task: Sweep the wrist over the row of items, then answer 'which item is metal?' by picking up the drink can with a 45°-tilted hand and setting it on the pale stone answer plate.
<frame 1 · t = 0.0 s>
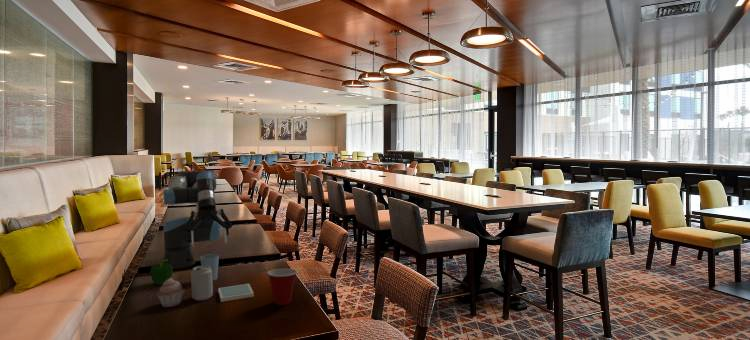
hand: (209, 244, 181), 15 cm above the table, tool tilted 35°, fingers open, 13 cm apart
cupcake: (171, 304, 153), on the table
can: (202, 298, 159), on the table
answer plate: (235, 294, 162), on the table
cup: (210, 279, 180), on the table
plastic cup: (283, 302, 153), on the table
bell pepper: (162, 284, 176), on the table
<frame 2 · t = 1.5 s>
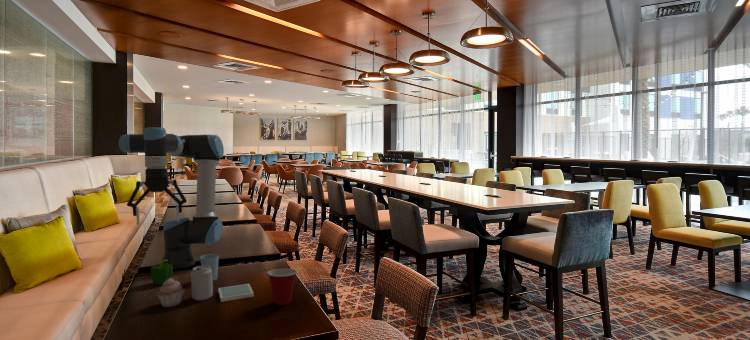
hand: (158, 222, 158), 29 cm above the table, tool pointing down, fingers open, 13 cm apart
nothing on the table moved.
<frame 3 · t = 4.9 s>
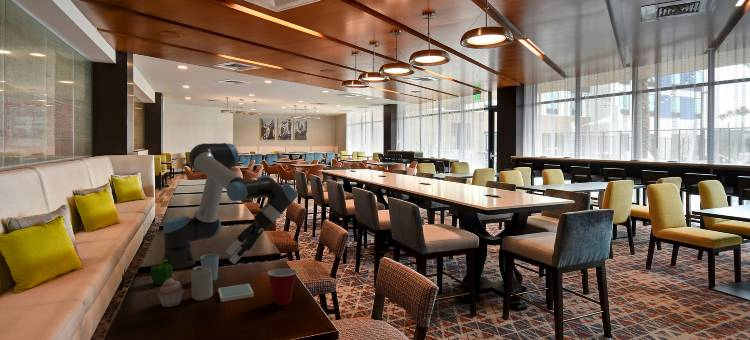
hand: (229, 257, 162), 14 cm above the table, tool tilted 45°, fingers open, 13 cm apart
nothing on the table moved.
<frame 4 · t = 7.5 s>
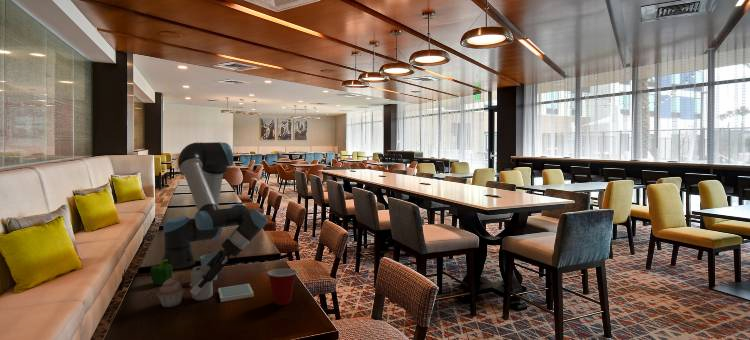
hand: (192, 290, 157), 4 cm above the table, tool tilted 45°, fingers closed on can, 7 cm apart
can: (202, 298, 159), on the table, touching gripper
everything else where it was.
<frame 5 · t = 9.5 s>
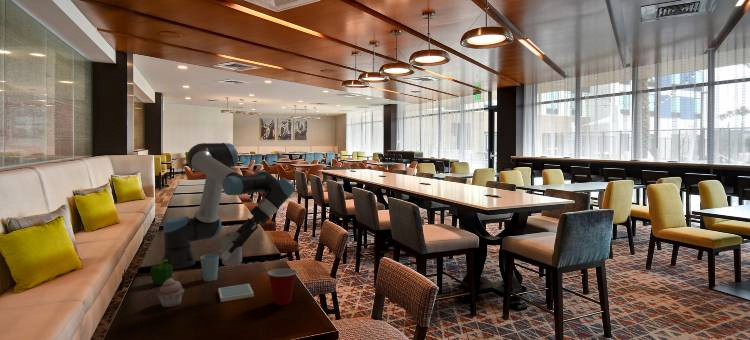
hand: (222, 255, 159), 16 cm above the table, tool tilted 45°, fingers closed on can, 7 cm apart
can: (232, 264, 161), point 12 cm above the table, touching gripper
everything else where it was.
when the fingers open (6 cm above the table, at t = 11.8 s): can stays where it is, resting on answer plate.
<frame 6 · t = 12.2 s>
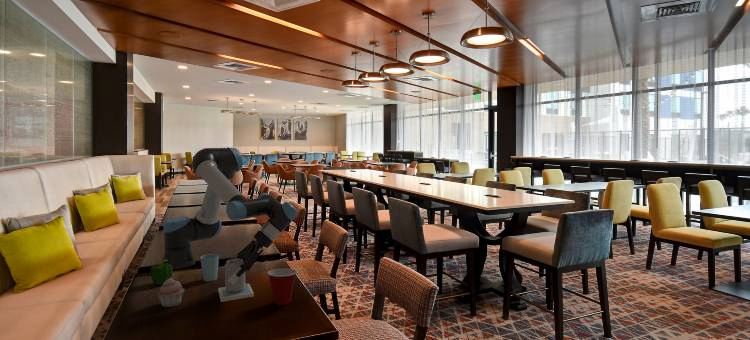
hand: (228, 277, 161), 7 cm above the table, tool tilted 45°, fingers open, 13 cm apart
can: (235, 290, 162), point 1 cm above the table, touching answer plate
everything else where it was.
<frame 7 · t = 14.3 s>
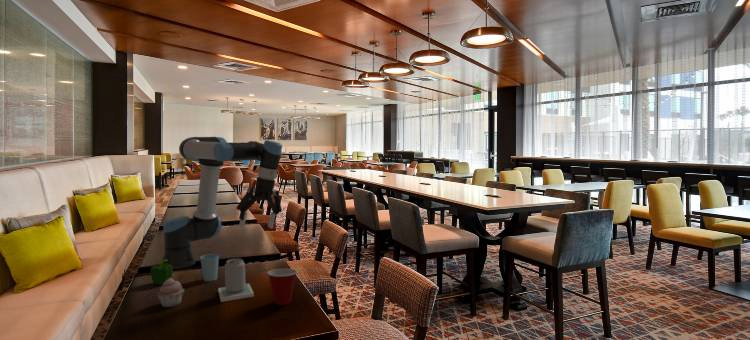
hand: (256, 227, 171), 24 cm above the table, tool pointing down, fingers open, 13 cm apart
nothing on the table moved.
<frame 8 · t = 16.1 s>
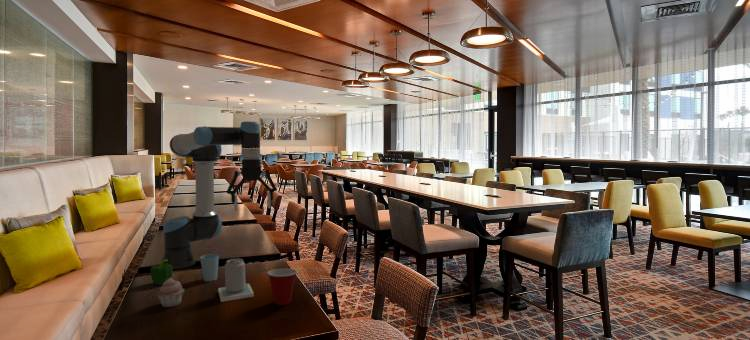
hand: (252, 209, 173), 32 cm above the table, tool pointing down, fingers open, 13 cm apart
nothing on the table moved.
at the end: can inside the target area on the answer plate (0.1 cm from its centre), point 1.5 cm above the answer plate's base; can tilted 0°; the gripper is holding nothing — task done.
